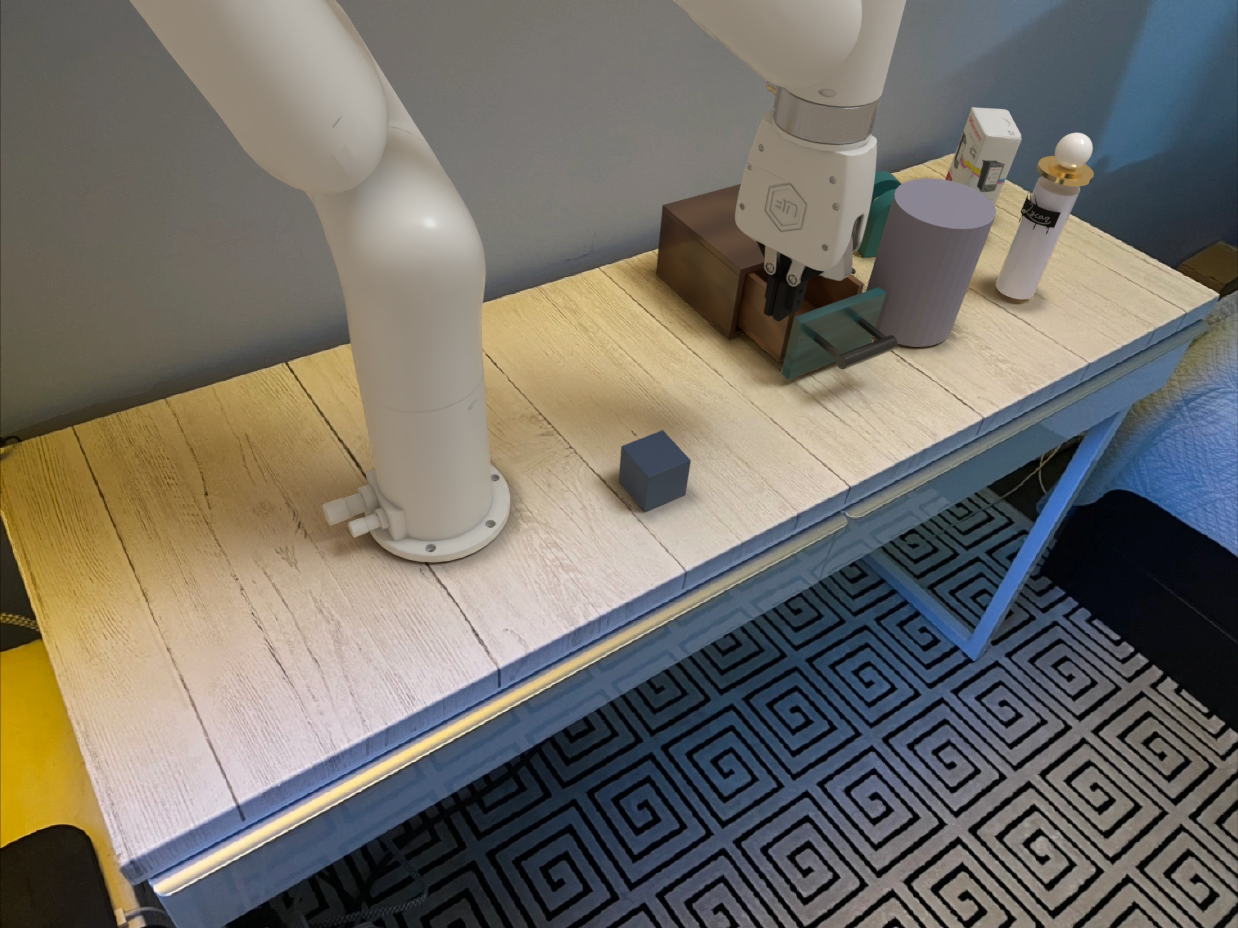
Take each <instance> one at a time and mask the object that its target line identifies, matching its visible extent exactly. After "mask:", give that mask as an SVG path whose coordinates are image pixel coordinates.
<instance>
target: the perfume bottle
mask: <svg viewBox="0 0 1238 928" xmlns="http://www.w3.org/2000/svg"><path fill="white" fill-rule="evenodd" d="M1093 150H1094V146H1093V142H1092V140H1091V138H1090V137H1089V136H1088V135H1086V134H1084V132H1083V133H1082V132H1071V133H1068V134H1066V135H1065V136H1063V137H1062V138H1061V139H1059V141H1058V142H1057V144H1056V145H1055V148H1054V155H1049V156H1045V157H1044V156H1043V157H1042V158H1041V159H1039V160H1038V162H1037V165H1036V171H1037V173H1038V174H1039V175H1040V177H1038V179H1037V180H1036V183H1035V186H1034V188H1033V191H1030V193H1029V194H1026V195H1027V196H1026V197H1025V200H1024V202H1023V205H1022V208H1021V210H1020V214H1021V216H1020V218H1019V220H1018V227H1017V229H1016V232H1015V234H1014V236H1013V239H1012V242H1011V245H1010V246H1009V249H1008V252H1007V254H1006V256H1005V259H1004V261H1003V264H1002V266H1001V269H1000V271H999V274H998V276H997V278H996V280H995V283H994V284H995V288H996V290H998V292H1000V294H1002V295H1004V296H1006V297H1009V298H1011V299H1015V300H1028V299H1031V298H1032V297H1034V295H1035V293H1036V291H1037V289H1038V287H1039V284H1040V282H1041V280H1042V277H1043V275H1044V274H1045V271H1046V268H1047V266H1048V265H1049V262H1050V260H1051V257H1052V255H1053V253H1054V251H1055V249H1056V246H1057V244H1058V242H1059V240H1060V237H1061V235H1062V233H1063V231H1064V228H1065V226H1066V224H1067V221H1068V220H1069V218H1070V215H1071V213H1072V211H1073V208H1074V206H1075V204H1076V202H1077V199H1078V198H1079V194H1080V193H1081V187H1083V186H1087V185H1089V184H1090V183H1091V182H1092V180H1093V178H1094V176H1095V173H1094V170H1093V169H1092V168H1091V167H1090V166H1089V165H1087V162H1088V161H1089V160H1090V158H1091V157H1092V155H1093ZM1029 190H1030V189H1028V190H1027V192H1029Z"/></svg>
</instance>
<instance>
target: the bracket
mask: <svg viewBox="0 0 1238 928" xmlns="http://www.w3.org/2000/svg"><path fill="white" fill-rule="evenodd" d="M901 184H902V182H901V181H900V180H899V179H898V178H897V177H896V176H895V175H894V174H893V173H891V172H889V171H886V170H876V171H875V180H874V187H873V193H872V199H871V205H870V210H869V215H868V219H867V223H866V228H865V231H864V235H863V238H862V241H861V244H860V247H859V249H858V250H857V252H859V254H860V255H861V256H862V258H864V259H868V258H876V255H877V252H878V248H879V245H880V242H881V238H882V235H883V231H884V228H885V224H886V221H887V218H888V214H889V211H890V207H891V204H892V200H893V197H894V194H895V191H896V189H897V188H898V187H899V186H900V185H901Z"/></svg>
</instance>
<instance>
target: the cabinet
mask: <svg viewBox="0 0 1238 928" xmlns="http://www.w3.org/2000/svg"><path fill="white" fill-rule="evenodd" d="M740 186H741V183H739V184H734V185H731V186H728V187H724V188H720V189H717V190H712V191H709V192H706V193H702V194H699V195H695V196H690V197H687V198H684V199H680V200H676V201H672V202H667V203H664V204H662V205H661V206H662V207H661V217H660V218H661V219H660V229H659V239H658V250H657V257H656V258H657V260H656V268H655V274H656V276H657V277H659V278H660V279H661V280H662V281H663V282H664V283H665V284H666V285H667V286H669V287H670V288H671V289H672V291H674V292H675V293H676V294H677V295H679V296H680V298H681V299H683V300H684V301H685V302H686V303H687V304H688V305H690V306H691V308H692V309H694V310H695V311H696V312H697V313H698V314H699V315H700V316H702V318H704V319H705V320H706V321H707V322H708V323H709V324H710V325H711V326H712V327H714V328H715V330H716V331H718V332H719V333H720V334H721V335H723V337H724V338H726V339H727V340H728V341H731V340H732V339H735V338H738V337H741V336H744V335H747V334H746V333H745V332H744V331H743V330H742V329H740V328H739V327H738V326H737V325H736V323H737V318H738V312H739V306H740V301H741V295H742V289H743V284H744V278H745V274H746V273H750V272H753V271H756V270H759V269H762V268H764V261H765V259H764V257H763V254H762V252H761V250H760V248H759V246H758V244H757V242H755V241H753V240H752V239H751V238H750V237H749V236H747V235H746V234H745V233H743V232H742V231H741V230H740V229H739V228H738V226H737V225H736V222H735V211H736V205H737V199H738V194H739V190H740Z"/></svg>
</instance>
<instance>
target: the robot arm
mask: <svg viewBox="0 0 1238 928" xmlns="http://www.w3.org/2000/svg"><path fill="white" fill-rule="evenodd" d="M128 1H129V2H130V4H131V5H132V6H133V7H134V8H135V10H136V11H137V12H138V14H139V15H140V16H141V18H142V19H143V20H144V22H145V23H146V24H147V25H148V27H149V28H150V29H151V31H152V32H153V33H154V35H155V36H156V37H157V38H158V40H159V42H160V43H161V44H162V45H163V47H164V48H165V49H166V51H167V52H168V54H169V55H170V56H171V57H172V59H174V61H175V62H176V63H177V65H178V67H180V69H182V71H183V72H184V73H185V74H186V76H187V77H188V78H189V80H190V81H191V82H192V83H193V85H194V86H195V87H196V89H197V90H198V91H199V92H200V94H201V95H202V96H203V98H205V99H206V101H207V103H209V105H210V106H211V107H212V109H214V111H215V112H216V114H218V117H220V119H221V121H223V123H224V124H225V125H226V127H227V128H228V129H229V131H230V133H232V135H233V137H234V138H235V139H236V141H237V142H238V144H239V145H240V147H241V148H242V149H243V150H244V152H245V153H246V154H247V155H248V156H249V157H250V158H251V159H252V160H253V161H254V162H255V163H256V165H258V166H259V167H260V168H261V169H263V170H264V171H266V172H267V173H268V174H269V175H271V177H273V178H274V179H276V180H278V181H280V182H281V183H283V184H286V185H288V186H290V187H291V188H293V189H297V190H300V191H303V192H304V193H305V194H306V195H307V197H308V198H309V200H310V202H311V203H312V204H313V206H314V208H315V211H316V214H317V215H318V216H317V217H318V218H319V221H320V223H321V227H322V229H323V233H324V237H325V239H326V242H327V244H328V248H329V249H330V252H331V256H332V258H333V263H334V265H335V268H336V272H337V274H338V278H339V282H340V286H341V291H342V295H343V300H344V306H345V312H346V319H347V321H346V322H347V328H348V336H349V342H350V348H351V354H352V360H353V361H352V362H353V366H354V371H355V376H356V381H357V384H358V388H359V389H358V390H359V394H360V399H361V405H362V410H363V415H364V421H365V425H366V430H367V435H368V441H369V446H370V451H371V452H370V453H371V457H372V462H373V467H374V469H371V470H368V471H366V472H365V476H366V481H367V484H365V485H362V486H360V487H358V488H357V493H354V494H351V495H348V496H346V497H343V496H341V497H339V498H337V499H333V500H331V501H328V502H325V503H323V504H322V505H321V507H322V511H323V514H324V516H325V519H326V521H327V523H328V525H329V526H334V525H337V524H339V523H343V522H344V521H347V520H350V519H351V518H352V517H355V516H359V515H360V514H363V513H364V517H363V516H362V517H359V518H356V519H353V520H351V521H348V522H347V526H348V529H349V532H350V534H351V537H353V538H357V537H360V536H363V535H365V534H367V533H370V535H371V536H372V538H373V539H374V540H375V542H376V543H377V544H379V545H380V547H382V548H383V549H384V550H386V551H387V552H389V553H391V554H392V555H395V556H397V557H400V558H403V559H405V560H410V561H414V562H420V563H441V562H450V561H455V560H457V559H461V558H462V559H463V558H465V557H467V556H469V555H472V554H475V553H477V552H478V551H479V550H480V551H481V549H483V548H484V547H486V546H488V545H489V544H490V543H491V542H492V541H494V540H495V539H496V538H497V537H498V536H499V534H500V533H501V532H502V530H503V529H504V528H505V525H506V523H507V521H508V520H509V517H510V511H511V495H510V487H509V485H508V483H507V481H506V478H505V477H504V476H503V474H502V473H501V471H499V470H498V469H497V467H495V466H494V465H493V464H491V455H490V453H491V451H490V439H489V438H490V437H489V422H488V407H487V392H486V376H485V365H484V353H483V327H482V326H483V307H484V306H483V305H484V298H485V290H486V279H487V278H486V277H487V269H486V268H487V264H486V256H485V250H484V245H483V241H482V239H481V235H480V233H479V230H478V228H477V225H476V222H475V221H474V218H473V217H472V214H471V212H470V210H469V208H468V206H467V204H466V203H465V201H464V200H463V197H462V196H461V195H460V193H459V191H458V189H457V188H456V187H455V185H454V183H453V182H452V179H450V177H449V176H448V174H447V173H446V171H445V169H444V167H443V166H442V164H441V163H440V161H439V159H438V158H437V156H436V155H435V152H434V151H433V149H432V148H431V146H430V145H429V143H428V141H427V139H426V138H425V136H424V135H423V134H422V133H421V131H420V129H419V127H418V126H417V125H416V123H415V121H414V120H413V118H412V117H411V115H410V114H409V112H408V110H407V109H406V107H405V106H404V104H403V103H402V101H401V99H400V98H399V96H398V94H397V93H396V91H395V90H394V88H393V86H392V85H391V83H390V81H389V80H388V79H387V76H386V75H385V74H384V72H383V70H382V69H381V67H380V66H379V64H378V62H377V61H376V59H375V58H374V56H373V54H372V52H371V51H370V49H369V48H368V46H367V45H366V43H365V42H364V40H363V38H362V37H361V35H360V33H359V31H358V30H357V29H356V26H355V25H354V24H353V22H352V20H351V19H350V17H349V15H348V14H347V12H346V11H345V10H344V8H343V7H342V6H341V5H340V4H339V2H338V1H337V0H128ZM672 1H673V3H675V4H676V5H678V6H679V7H680V8H681V9H682V10H683V11H685V12H686V13H687V14H688V16H689V17H690V19H692V21H693V22H694V23H695V24H696V25H697V26H698V27H699V28H700V29H701V30H703V32H705V33H706V34H707V35H709V37H711V38H713V40H714V41H716V42H717V43H719V44H720V45H722V47H724V48H725V49H726V50H729V51H730V53H732V54H733V55H735V56H736V57H737V58H738V59H740V61H742V62H743V63H745V64H746V65H747V66H748V67H749V68H751V69H752V70H753V71H754V72H755V73H756V74H758V75H759V76H760V77H761V78H763V79H764V80H765V81H766V84H765V87H766V88H765V89H766V90H767V91H769V92H771V93H772V94H773V95H774V96H775V97H774V103H773V109H771V110H769V111H766V113H764V114H763V116H762V119H761V121H760V124H759V126H758V128H757V130H756V133H755V136H754V138H753V141H752V144H751V147H750V150H749V153H748V156H747V159H746V162H745V166H744V169H743V174H742V177H741V182H740V184H741V186H740V190H739V194H738V199H737V205H736V211H735V222H736V225H737V226H738V228H739V229H740V230H741V231H742V232H743V233H745V234H746V235H747V236H749V237H750V238H751V239H752V240H753V241H755V242H757V244H758V246H759V248H760V250H761V252H762V254H763V257H764V259H765V261H764V268H765V271H766V272H767V273H768V274H769V276H768V281H767V286H766V291H765V299H766V302H765V307H764V312H763V313H764V314H765V315H767V316H772V317H773V319H774V320H776V321H778V322H780V321H781V320H783V319H784V318H786V317H787V316H789V315H790V314H794V313H795V312H797V311H798V310H799V309H800V307H801V306H802V303H803V299H804V295H805V290H806V286H807V282H808V280H809V279H811V278H814V277H816V276H818V275H820V276H823V277H825V278H829V279H833V280H838V281H841V280H843V279H845V278H846V277H848V276H849V275H851V273H852V268H853V259H854V258H853V254H855V253H857V252H858V249H859V247H860V244H861V241H862V238H863V235H864V231H865V228H866V223H867V219H868V215H869V210H870V205H871V199H872V193H873V187H874V180H875V172H877V156H878V155H877V154H878V139H877V138H876V136H874V135H872V133H873V129H874V125H875V122H876V118H877V114H878V111H879V106H880V103H881V99H882V95H883V92H884V87H885V84H886V80H887V77H888V72H889V68H890V64H891V62H892V61H891V60H892V58H893V54H894V50H895V45H896V42H897V38H898V34H899V29H900V27H901V22H902V18H903V14H904V11H905V8H906V4H907V0H672Z"/></svg>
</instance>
